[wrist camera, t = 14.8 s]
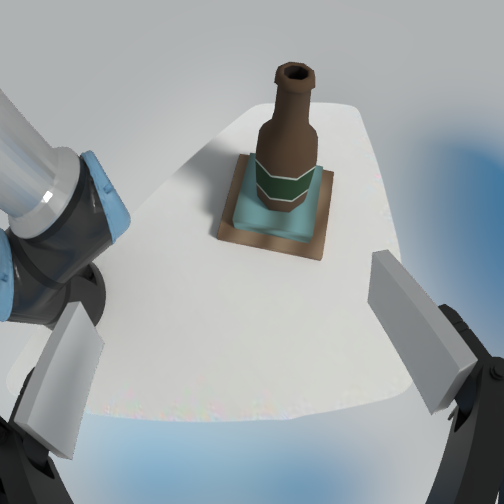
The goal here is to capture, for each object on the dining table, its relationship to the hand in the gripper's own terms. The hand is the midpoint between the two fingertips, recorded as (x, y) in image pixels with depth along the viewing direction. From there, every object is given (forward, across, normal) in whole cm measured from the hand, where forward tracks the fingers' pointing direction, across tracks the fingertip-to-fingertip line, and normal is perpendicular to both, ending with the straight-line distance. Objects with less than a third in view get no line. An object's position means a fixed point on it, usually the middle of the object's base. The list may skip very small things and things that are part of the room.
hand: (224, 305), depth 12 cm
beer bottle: (+33, +8, -7) cm, 35 cm away
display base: (+37, +8, -11) cm, 39 cm away
